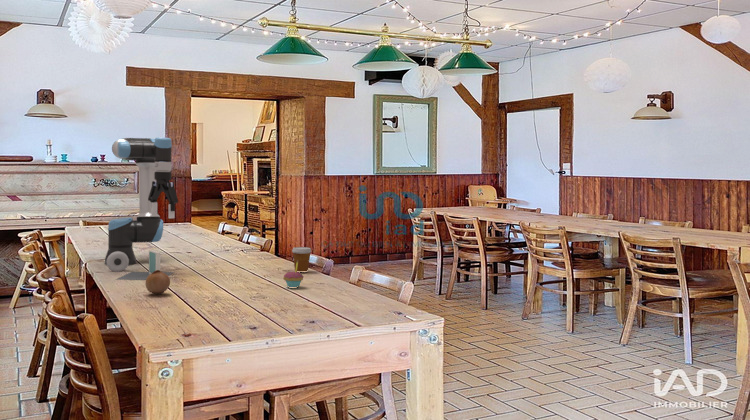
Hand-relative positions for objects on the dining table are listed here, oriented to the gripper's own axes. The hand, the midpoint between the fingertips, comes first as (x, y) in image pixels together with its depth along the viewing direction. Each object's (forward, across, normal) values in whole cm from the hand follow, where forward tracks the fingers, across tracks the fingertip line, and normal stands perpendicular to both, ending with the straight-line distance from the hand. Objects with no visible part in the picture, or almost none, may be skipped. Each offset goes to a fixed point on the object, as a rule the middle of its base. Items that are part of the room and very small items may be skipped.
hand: (162, 217), depth 319 cm
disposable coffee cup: (+27, +36, +54) cm, 71 cm away
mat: (+27, -2, -8) cm, 28 cm away
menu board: (+27, -1, -3) cm, 27 cm away
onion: (+27, +37, -27) cm, 54 cm away
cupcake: (+27, +63, +22) cm, 72 cm away
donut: (+27, -22, -10) cm, 37 cm away
